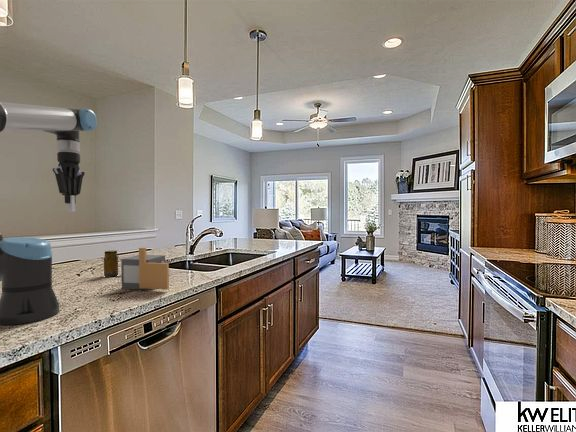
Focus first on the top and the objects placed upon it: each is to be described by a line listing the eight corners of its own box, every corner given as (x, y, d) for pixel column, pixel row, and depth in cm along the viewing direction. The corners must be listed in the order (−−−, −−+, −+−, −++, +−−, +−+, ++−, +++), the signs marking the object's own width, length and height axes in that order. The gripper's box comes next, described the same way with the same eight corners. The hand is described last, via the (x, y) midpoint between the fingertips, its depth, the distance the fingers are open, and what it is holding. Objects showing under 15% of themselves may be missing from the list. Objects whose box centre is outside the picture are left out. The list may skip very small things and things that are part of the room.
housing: (153, 290, 125) (152, 257, 125) (121, 288, 128) (121, 257, 127) (169, 283, 137) (169, 253, 137) (140, 281, 140) (140, 252, 139)
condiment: (106, 274, 155) (105, 250, 155) (125, 274, 157) (124, 249, 156) (100, 277, 148) (100, 252, 148) (120, 277, 149) (119, 251, 149)
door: (167, 289, 122) (166, 248, 122) (139, 288, 125) (138, 248, 124) (168, 288, 124) (168, 248, 123) (141, 287, 126) (140, 247, 125)
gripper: (74, 156, 134) (76, 212, 134) (45, 150, 121) (47, 212, 121) (89, 155, 132) (91, 211, 132) (62, 148, 119) (64, 211, 119)
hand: (70, 211), depth 126 cm, fingers closed
